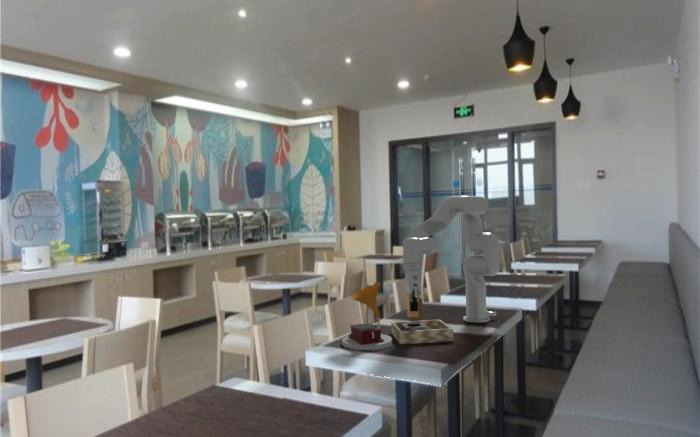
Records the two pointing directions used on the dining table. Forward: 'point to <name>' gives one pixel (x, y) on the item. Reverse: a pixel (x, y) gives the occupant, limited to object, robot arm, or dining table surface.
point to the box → (423, 332)
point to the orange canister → (409, 313)
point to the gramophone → (367, 325)
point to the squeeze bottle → (421, 311)
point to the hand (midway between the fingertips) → (412, 309)
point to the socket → (413, 326)
